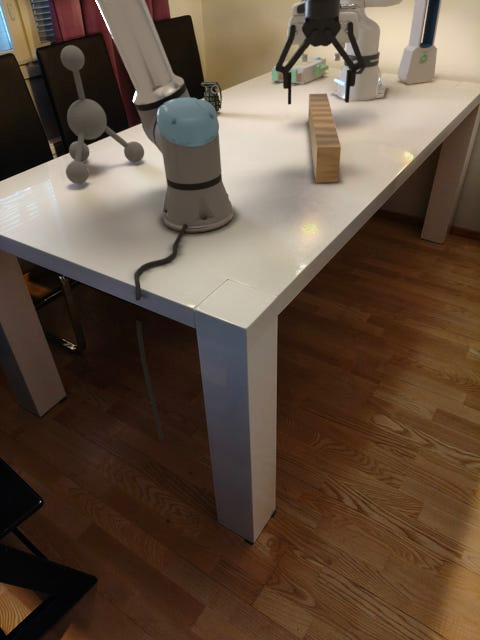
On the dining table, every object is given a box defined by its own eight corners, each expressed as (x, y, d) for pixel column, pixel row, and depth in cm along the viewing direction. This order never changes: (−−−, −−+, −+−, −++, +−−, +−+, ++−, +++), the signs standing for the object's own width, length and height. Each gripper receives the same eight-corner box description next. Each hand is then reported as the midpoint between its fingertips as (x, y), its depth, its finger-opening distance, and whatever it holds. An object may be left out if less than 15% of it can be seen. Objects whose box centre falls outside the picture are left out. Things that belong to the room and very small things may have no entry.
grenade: (202, 115, 171) (199, 84, 165) (206, 110, 175) (204, 80, 169) (220, 115, 169) (217, 84, 163) (224, 111, 174) (222, 80, 167)
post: (338, 182, 119) (340, 146, 114) (315, 182, 120) (317, 147, 114) (325, 121, 158) (326, 93, 153) (308, 122, 159) (309, 93, 154)
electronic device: (405, 84, 191) (419, -7, 173) (396, 80, 197) (408, -9, 178) (434, 81, 193) (450, -10, 175) (423, 77, 199) (438, -11, 181)
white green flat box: (294, 54, 218) (335, 57, 208) (294, 70, 222) (334, 73, 212) (263, 65, 202) (305, 69, 192) (263, 82, 206) (304, 86, 196)
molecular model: (155, 174, 129) (135, 45, 110) (70, 190, 123) (34, 57, 104) (137, 148, 146) (116, 33, 128) (61, 161, 140) (29, 42, 122)
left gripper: (379, -9, 106) (368, 96, 119) (265, -3, 108) (266, 99, 121) (385, -5, 100) (372, 104, 113) (263, 1, 102) (265, 107, 115)
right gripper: (361, 2, 135) (356, 58, 144) (287, 5, 137) (286, 60, 146) (363, 4, 130) (358, 61, 139) (287, 7, 132) (286, 64, 141)
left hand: (317, 102), depth 117 cm, fingers open, 13 cm apart
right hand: (320, 61), depth 142 cm, fingers open, 8 cm apart
